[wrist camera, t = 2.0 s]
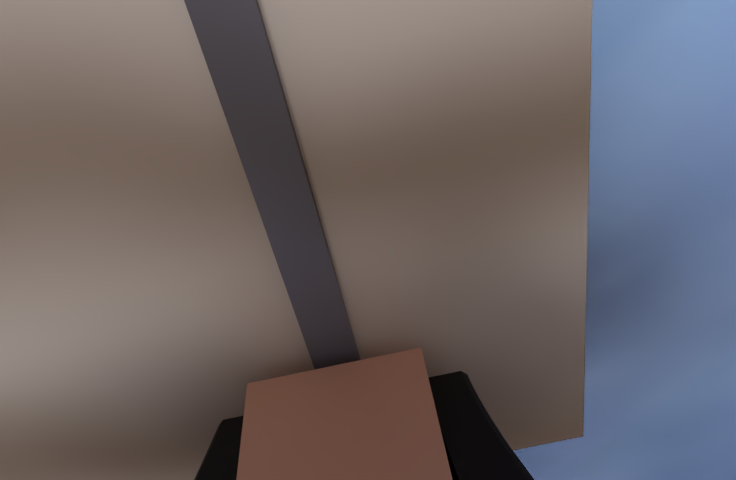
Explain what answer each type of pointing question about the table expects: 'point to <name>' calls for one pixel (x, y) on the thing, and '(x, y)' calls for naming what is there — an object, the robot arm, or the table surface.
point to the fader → (345, 424)
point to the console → (282, 214)
